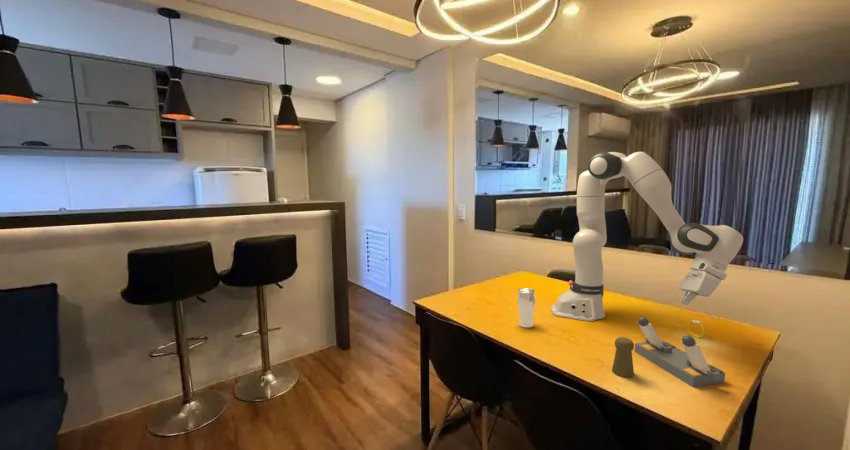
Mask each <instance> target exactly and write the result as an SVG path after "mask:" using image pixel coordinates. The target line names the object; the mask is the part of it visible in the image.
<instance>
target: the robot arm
mask: <svg viewBox="0 0 850 450" xmlns="http://www.w3.org/2000/svg"><path fill="white" fill-rule="evenodd" d="M622 178H626V179H627V180H628V181H629V183H630V184H631V186H632V187H633V188H634V190H635V191H636V192H637V193H638V194H639V196H640V197H641V198H642V199H643V200H644V201H645V202H646V203H647V205H648V206H649V207H650V208H651V209H652V210H653V211H654V214H656V216H657V218H658V219H659V220H660V222H661V223H662V225H663V227H664V228H665V230H666V232H667V234H668V236H669V243H670V246H671V248H672V249H673V251H675V252H676V253H678V254H680V255H686V256H690V255H694V254H697V256H696V257H695V258H694V260H693V262H691V264H690V266H689V269H690V270H692V271H689V272H688V273H686V275H685V276H684V277H683V279H682V280H681V281H680V283H679V284H678V287H677V288H678V290H679V291H682V292H683V294H682V297H681V299H680V301H679V302H680V303H681V304H683V305H686V306H689V304H690V303H691V302H692V301H693V300H695V298H696V297H697V296H699V297H705V298H708V297H709V296H711V295H712V294H713V293H714V292H715V290H716V289H717V288H718V286H719V285H720V284H721V281H725V280H726V278H727V276H728V274H727V273H726V271H727V269H728V265H729V263H730V262H731V261H733V260H734V259H735V257H736V256H737V254H738V252H739V251H740V249H741V247H742V246H743V243H744V236H743V235H742V233H741V232H740V231H739V230H737V229H735V228H734V227H732V226H729V225H726V224H719V225H707V224H701V223H697V222H688V223H686V222H685V221H684V219H683V218H682V216H681V215H680V213H679V212H678V211H677V210H676V207H675V206H674V203H673V201H672V183H671V181H670V178H669V177H668V175H667V174H666V172H665V171H664V170H663V168H662V167H661V166H660V165H659V163H657V161H656V160H655V159H654V158H652V157H651V156H650V155H649V154H647V153H646V152H645V151H636V152H632V153H631V154H629V155H627V154H626V153H623V152H618V151H617V152H616V151H609V152H605V151H604V152H603V151H602V152H599V153H597V154H594V155H593V156H592V157H591V158H590V160H589V162H588V163H587V170H585V171H583V172H582V173H580V174H579V176H578V181H577V187H576V216H577V220H578V225H579V231H578V232H576V234H575V235H574V237H573V239H572V247H573V253H574V254H573V255H574V256H573V257H574V262H575V274H574V275H575V278H574V279H575V280H574V281H573V280H572V279H571V280H569V281H568V285H569V289H568V290H567V291H565V292H563V293H561V294H560V295H559V296H558V297H557V300H556V303H554V304H552V306H551V309H550V311H551V314H552V315H554V316H555V317H559V318H560V317H561V318H566V319H574V320H579V321H586V322H594V321H596V320H597V321H598V320H601V319H604V318H605V317H606V313H605V309H604V301H603V300H604V299H603V297H604V293H605V292H604V283H603V279H604V278H603V275H604V265H603V257H602V256H603V255H602V249H603V247H604V246H605V245H606V244H607V239H608V237H607V235H608V234H607V223H606V213H605V210H606V209H605V207H606V185H607V183H608V182H613V181H617V180H619V179H622Z"/></svg>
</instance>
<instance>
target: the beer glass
mask: <svg viewBox="0 0 850 450" xmlns="http://www.w3.org/2000/svg"><path fill="white" fill-rule="evenodd" d="M535 305H536V291H535V289H533V288H529V287H522V288H519V289H518V292H517V307H518V314H519V320H518V326H519V327H521V328H523V329H531V328H533V327H534V326H535V325H534V321H533V320H534V317H533V316H534V311H535V308H536V307H535Z"/></svg>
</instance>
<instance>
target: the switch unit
mask: <svg viewBox="0 0 850 450" xmlns="http://www.w3.org/2000/svg"><path fill="white" fill-rule="evenodd" d="M660 340H661V342H662V343H663V345H664V351H663V350H662V349H659V348H657V347H655V346H653V345H652V344H650V343H649V342H648V339H647V338H646V337H645V342H644V341H642V342H635V344H634V353H637V355H640V356H641V357H643V358H645V359H646V360H648V361H650V362H651V363H653V364H654V365H656V366H658V367H659V368H660V369H663V370H664V371H665V372H667V373H669V374H671V375H673V376H674V377H676V378H677V379H679V380H680V381H682V382H684V383H686V384H687V385H689V386H690V387H692V388H696V387H703V386H709V385H714V384H715V385H716V384H722V383H724V384H725V379H726V372H724V371H723V370H721V369H720V368H717V367H716V366H714V365H711V364H709V363H707V364H708V366H709V368H710V372H712V373H711V376H709V375H707V374H704V373H703V372H701V371H699V370H697V369H695V368H694V367H693V366H691V362H690V360H689V358H688V356H687V353H686V351H685V350H682V349H681V348H678V347H676V346H675V345H673V344H671V343H669V342H668V341H665V340H663V339H660Z"/></svg>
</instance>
